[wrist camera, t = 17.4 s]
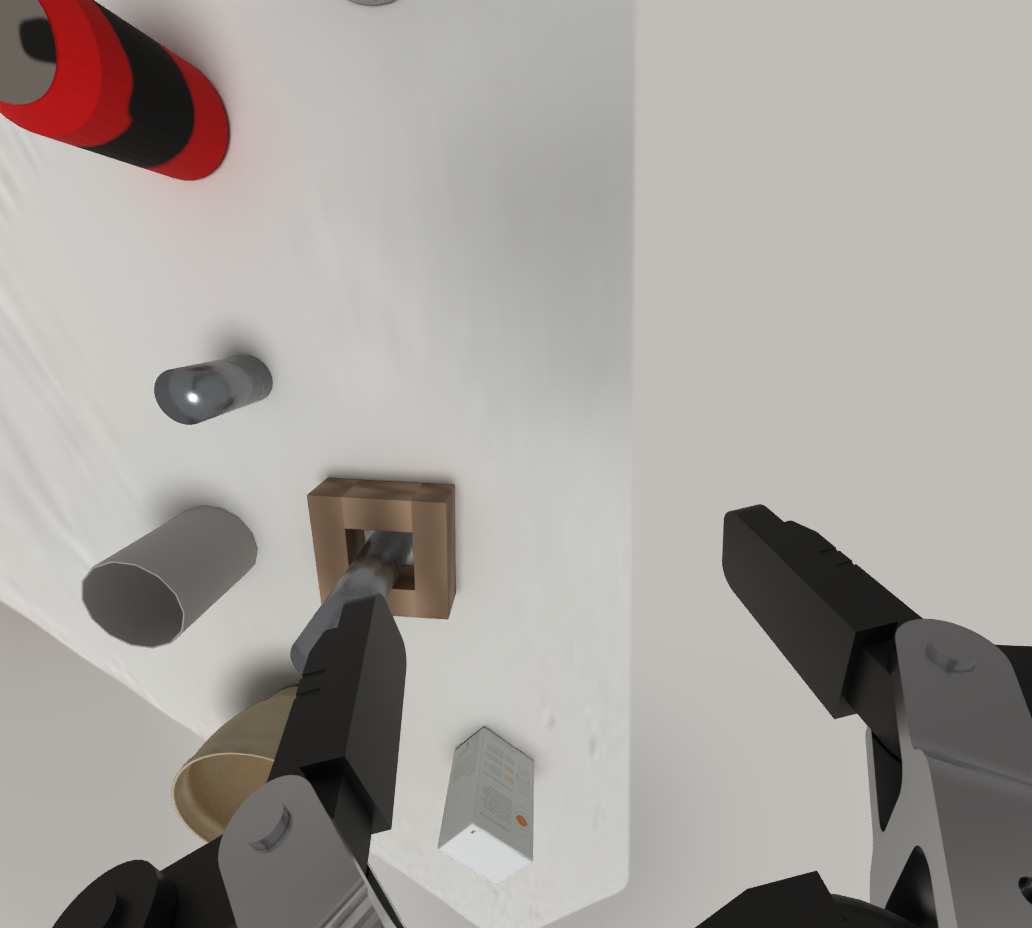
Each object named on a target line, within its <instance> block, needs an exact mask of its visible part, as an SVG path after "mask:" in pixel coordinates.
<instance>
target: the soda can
mask: <svg viewBox="0 0 1032 928" xmlns="http://www.w3.org/2000/svg"><path fill="white" fill-rule="evenodd" d="M0 113H1V114H2V115H4V116H5V117H6V118H7V119H9V120H10V121H12V122H13V123H15V124H16V125H18V126H19V127H21V128H24V129H26V130H28V131H31V132H33V133H36V134H39V135H42V136H45V137H48V138H51V139H54V140H57V141H61V142H64V143H67V144H70V145H73V146H76V147H79V148H82V149H85V150H88V151H92V152H95V153H98V154H101V155H104V156H107V157H110V158H113V159H116V160H119V161H123V162H126V163H129V164H132V165H135V166H138V167H141V168H144V169H147V170H150V171H154V172H157V173H160V174H163V175H166V176H169V177H172V178H176V179H180V180H197V179H200V178H203V177H205V176H207V175H209V174H210V173H211V172H212V171H213V170H215V169H216V168H217V166H218V165H219V163H220V162H221V160H222V158H223V156H224V153H225V150H226V145H227V139H228V130H227V121H226V115H225V111H224V109H223V106H222V103H221V100H220V98H219V96H218V94H217V93H216V91H215V89H214V88H213V86H212V85H211V83H210V82H209V81H208V79H207V78H206V77H205V76H204V75H203V74H202V73H201V72H200V71H199V70H198V69H196V68H195V67H193V66H192V65H191V64H189V63H188V62H186V61H185V60H183V59H182V58H180V57H179V56H177V55H176V54H174V53H173V52H171V51H170V50H168V49H167V48H165V47H164V46H162V45H161V44H159V43H157V42H156V41H154V40H153V39H151V38H150V37H148V36H147V35H145V34H144V33H142V32H141V31H139V30H138V29H136V28H135V27H133V26H132V25H130V24H129V23H127V22H126V21H124V20H123V19H121V18H120V17H118V16H117V15H115V14H114V13H112V12H111V11H109V10H108V9H106V8H105V7H103V6H102V5H100V4H98V3H97V2H95V1H94V0H0Z"/></svg>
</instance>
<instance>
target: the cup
mask: <svg viewBox="0 0 1032 928" xmlns="http://www.w3.org/2000/svg"><path fill="white" fill-rule="evenodd" d="M257 550H258V548H257V545H256V543H255V540H254V537H253V534H252V532H251V531H250V530H249V528H248V527H247V526H246V525H245V524H244V523H243V522H242V521H241V519H240V518H239V517H237V516H235V515H233V514H231V513H229V512H228V511H226V510H224V509H222V508H217V507H209V506H199V507H196V508H193V509H190V510H187V511H185V512H184V513H182V514H180V515H179V516H177V517H175V518H174V519H172V520H170V521H169V522H167V523H165V524H164V525H162V526H160V527H159V528H157V529H155V530H154V531H152V532H150V533H149V534H147V535H145V536H144V537H142V538H140V539H139V540H137V541H135V542H134V543H132V544H130V545H129V546H127V547H125V548H124V549H122V550H120V551H119V552H117V553H115V554H114V555H112V556H110V557H109V558H107V559H105V560H104V561H102V562H100V563H99V564H97V565H95V566H94V567H92V568H91V570H90V571H89V572H88V574H87V575H86V576H85V578H84V579H83V580H82V601H83V603H84V605H85V607H86V609H87V611H88V613H89V615H90V617H91V619H92V620H93V621H94V622H95V623H96V624H98V625H99V626H100V627H101V628H102V629H103V630H104V631H105V632H106V633H107V634H108V635H110V636H112V637H114V638H116V639H118V640H120V641H122V642H125V643H127V644H129V645H131V646H138V647H146V648H156V647H160V646H163V645H167V644H171V643H172V642H173V641H174V640H175V639H176V638H178V637H179V636H180V635H181V634H182V633H183V632H184V631H185V630H186V629H187V628H188V627H189V626H190V625H191V624H193V623H194V622H195V621H196V620H197V619H198V618H199V617H200V616H201V615H202V614H203V613H204V612H205V611H206V610H208V609H209V608H210V607H211V606H212V605H213V604H214V603H215V602H216V601H217V600H218V599H219V598H220V597H221V596H223V595H224V594H225V593H226V592H227V591H228V590H229V589H230V588H231V587H232V586H233V585H234V584H235V583H236V582H238V581H239V580H240V579H241V578H242V577H243V576H244V575H245V574H246V573H247V572H248V571H249V570H250V569H251V568H252V567H253V565H254V564H255V561H256V555H257Z"/></svg>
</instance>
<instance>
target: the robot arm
mask: <svg viewBox="0 0 1032 928" xmlns="http://www.w3.org/2000/svg"><path fill="white" fill-rule="evenodd" d="M349 1H352V2H356V3H359V4H362V5H380V4H385V3H389V2H392V1H393V0H349ZM723 532H724V533H723V555H722V566H723V571H724V575H725V577H726V580H727V582H728V584H729V586H730V587H731V589H732V590H733V592H734V593H735V594H736V595H737V597H738V598H739V599H740V600H741V602H742V603H743V604H744V606H745V607H746V608H747V609H748V611H749V612H750V613H751V614H752V616H753V617H754V618H755V619H756V621H757V622H758V623H759V625H760V626H761V627H762V628H763V630H764V631H765V632H766V633H767V635H768V636H769V637H770V638H771V640H772V641H773V642H774V643H775V645H776V646H777V647H778V648H779V650H780V651H781V652H782V654H783V655H784V656H785V657H786V659H787V660H788V661H789V662H790V664H791V665H792V666H793V667H794V669H795V670H796V671H797V673H798V674H799V675H800V676H801V678H802V679H803V680H804V681H805V683H806V684H807V685H808V686H809V688H810V689H811V690H812V691H813V693H814V694H815V695H816V696H817V698H818V699H819V700H820V702H821V703H822V704H823V705H824V706H825V708H826V709H827V710H828V711H829V713H830V714H831V715H832V717H833V718H834V719H837V718H841V717H845V716H849V715H853V714H858V715H859V716H860V717H861V718H862V720H863V721H864V722H865V723H866V724H867V730H866V750H867V763H868V776H869V789H870V803H871V817H872V829H873V855H872V863H871V871H870V903H867V902H865V901H862V900H859V899H854V898H850V897H846V896H841V895H837V894H830V892H829V891H828V889H827V887H826V885H825V884H824V882H823V880H822V879H821V877H820V875H819V873H818V872H817V871H814V872H810V873H806V874H803V875H798V876H795V877H791V878H787V879H784V880H780V881H776V882H772V883H768V884H765V885H761V886H757V887H753V888H749V889H747V890H745V891H744V892H743V893H741V894H740V895H738V896H737V897H736V898H734V899H733V900H732V901H730V902H729V903H728V904H727V905H725V906H724V907H722V908H721V909H720V910H718V911H717V912H716V913H714V914H713V915H712V916H710V917H709V918H707V919H706V920H705V921H704V922H702V923H701V924H700V925H698V926H697V927H695V928H1032V646H1031V647H1030V646H1008V645H994V644H993V643H992V642H990V641H989V640H987V639H986V638H984V637H983V636H981V635H979V634H977V633H975V632H974V631H972V630H969V629H967V628H965V627H962V626H959V625H956V624H954V623H950V622H946V621H941V620H935V619H923V618H922V617H920V616H919V615H918V614H916V613H915V612H914V611H913V610H912V609H910V608H909V607H908V606H907V605H905V604H904V603H903V602H902V601H901V600H899V599H898V598H897V597H896V596H894V595H893V594H892V593H891V592H889V591H888V590H887V589H886V588H885V587H883V586H882V585H881V584H880V583H878V582H877V581H876V580H875V579H874V578H872V577H871V576H870V575H869V574H867V573H866V572H865V571H864V570H863V569H861V568H860V567H859V566H858V565H854V564H853V563H852V560H850V559H849V558H848V557H847V556H845V555H844V554H843V553H842V552H841V551H837V550H836V547H834V546H833V545H832V544H831V543H829V542H828V541H827V540H826V539H825V538H823V537H822V536H821V535H820V534H819V533H817V532H816V531H814V530H811V529H809V528H807V527H805V526H802V525H800V524H798V523H796V522H793V521H787V522H783V521H782V520H781V519H780V518H779V517H777V516H776V515H775V514H774V513H773V512H772V511H770V510H769V509H768V508H767V507H765V506H764V505H754V506H750V507H746V508H742V509H738V510H733V511H729V512H727V513H726V515H725V517H724V530H723ZM302 677H303V678H302V679H300V682H299V685H298V688H297V692H296V699H294V701H293V704H292V707H291V710H290V713H289V716H288V719H287V722H286V725H285V728H284V731H283V734H282V738H281V741H280V744H279V747H278V750H277V753H276V756H275V759H274V762H273V765H272V768H271V771H270V774H269V777H268V779H267V782H266V784H264V785H263V786H261V787H260V788H259V789H257V790H256V791H255V792H253V793H252V794H251V795H250V796H249V797H248V798H247V799H246V800H245V801H244V802H243V803H242V805H241V806H240V807H239V808H238V809H237V811H236V812H235V814H234V815H233V816H232V818H231V820H230V821H229V823H228V825H227V827H226V829H225V831H224V833H223V834H222V835H220V836H219V837H217V838H216V839H214V840H212V841H211V842H209V843H207V844H206V845H204V846H202V847H201V848H199V849H197V850H195V851H194V852H192V853H191V854H189V855H187V856H185V857H183V858H182V859H180V860H178V861H177V862H175V863H173V864H172V865H170V866H168V867H166V868H165V869H163V870H161V871H159V870H158V869H156V868H155V867H154V866H153V865H151V864H150V863H149V862H147V861H144V860H132V861H128V862H125V863H122V864H120V865H118V866H116V867H114V868H112V869H110V870H108V871H107V872H105V873H104V874H103V875H101V876H100V877H98V878H97V879H96V880H95V881H93V882H92V883H91V884H90V885H88V886H87V887H86V888H85V889H84V890H83V891H82V892H81V893H80V894H79V895H78V896H77V897H76V898H75V899H74V901H72V902H71V904H70V905H69V906H68V907H67V908H66V910H65V911H64V912H63V913H62V915H61V916H60V917H59V919H58V920H57V921H56V923H55V924H54V926H53V927H52V928H406V926H405V924H404V923H403V921H402V919H401V918H400V916H399V914H398V912H397V911H396V909H395V908H394V906H393V904H392V902H391V900H390V899H389V897H388V895H387V893H386V892H385V890H384V888H383V886H382V885H381V883H380V881H379V880H378V878H377V876H376V874H375V873H374V871H373V869H372V867H371V866H370V864H369V863H368V856H369V848H370V840H371V834H374V833H378V832H382V831H386V830H390V829H391V827H392V816H393V806H394V795H395V784H396V773H397V763H398V752H399V741H400V730H401V720H402V709H403V698H404V687H405V677H406V652H405V646H404V642H403V639H402V637H401V634H400V632H399V630H398V627H397V625H396V623H395V621H394V618H393V616H392V614H391V611H390V609H389V607H388V605H387V602H386V600H385V598H384V596H383V595H382V594H381V593H377V594H373V595H369V596H364V597H360V598H356V599H352V600H348V601H346V602H345V603H344V606H343V609H342V612H341V616H340V620H339V623H338V627H336V628H332V629H328V630H325V631H324V633H323V634H322V635H321V637H320V638H319V639H318V641H317V642H316V644H315V645H314V646H313V648H312V649H311V650H310V652H309V655H308V658H307V661H306V664H305V667H304V670H303V673H302Z"/></svg>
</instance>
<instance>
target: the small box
mask: <svg viewBox="0 0 1032 928" xmlns="http://www.w3.org/2000/svg"><path fill="white" fill-rule="evenodd" d="M533 783H534V761H533V760H532V759H530V758H529V757H527V756H526V755H524V754H523V753H521V752H520V751H518V750H517V749H515V748H514V747H513V746H511V745H510V744H508V743H507V742H505V741H504V740H502V739H501V738H500V737H498V736H497V735H495V734H494V733H492V732H491V731H489V730H488V729H486V728H485V727H483V728H482V729H481V730H480V731H479V732H477V733H476V734H475V735H474V736H472V737H471V738H470V739H469V740H467V741H466V742H465V743H464V744H463V745H461V746H460V747H459V748H458V749H456V750H455V752H454V757H453V763H452V768H451V774H450V780H449V785H448V791H447V797H446V803H445V808H444V814H443V819H442V825H441V831H440V837H439V843H438V850H439V851H441V852H443V853H444V854H446V855H448V856H449V857H451V858H453V859H454V860H456V861H458V862H459V863H461V864H463V865H464V866H466V867H468V868H469V869H471V870H473V871H474V872H476V873H478V874H479V875H481V876H483V877H484V878H486V879H488V880H489V881H491V882H493V883H494V884H496V885H497V884H498V883H500V882H502V881H504V880H505V879H507V878H508V877H510V876H511V875H513V874H515V873H516V872H518V871H519V870H521V869H522V868H524V867H525V866H527V865H529V864H530V863H532V861H533V788H534V787H533Z"/></svg>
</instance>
